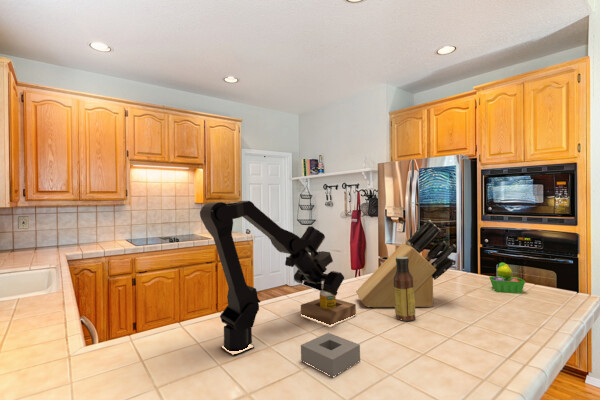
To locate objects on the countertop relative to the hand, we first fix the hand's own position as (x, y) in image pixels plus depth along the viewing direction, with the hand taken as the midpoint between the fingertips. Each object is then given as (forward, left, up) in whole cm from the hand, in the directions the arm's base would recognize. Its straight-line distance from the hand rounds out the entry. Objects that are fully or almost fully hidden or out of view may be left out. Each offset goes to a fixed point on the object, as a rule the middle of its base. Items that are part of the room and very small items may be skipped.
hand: (330, 292), depth 105 cm
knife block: (+29, -12, -8) cm, 32 cm away
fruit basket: (+73, -34, -8) cm, 81 cm away
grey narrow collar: (-23, -20, -8) cm, 31 cm away
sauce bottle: (+15, -19, -8) cm, 25 cm away
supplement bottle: (-1, 0, -7) cm, 7 cm away
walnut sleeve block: (-1, 0, -8) cm, 8 cm away
